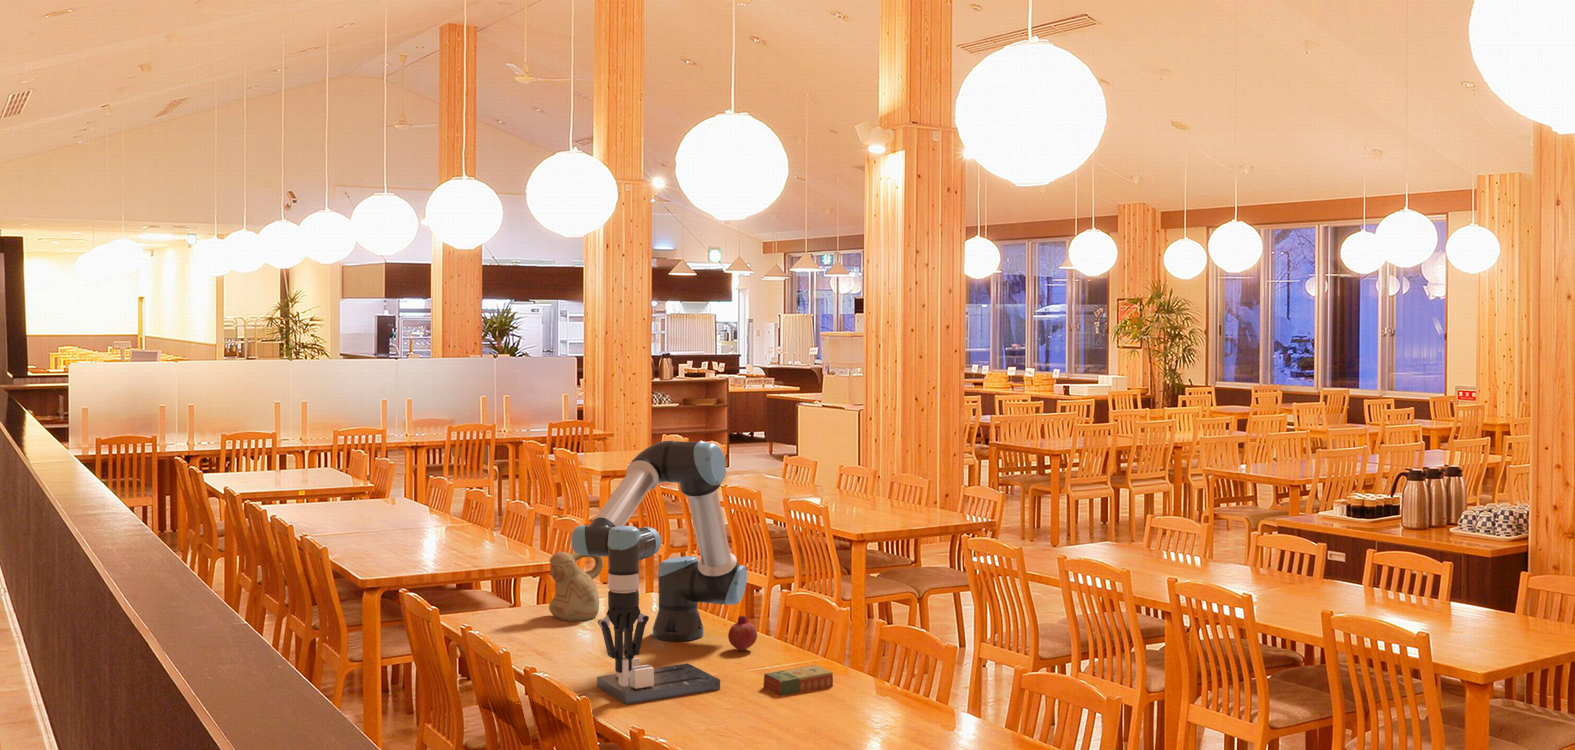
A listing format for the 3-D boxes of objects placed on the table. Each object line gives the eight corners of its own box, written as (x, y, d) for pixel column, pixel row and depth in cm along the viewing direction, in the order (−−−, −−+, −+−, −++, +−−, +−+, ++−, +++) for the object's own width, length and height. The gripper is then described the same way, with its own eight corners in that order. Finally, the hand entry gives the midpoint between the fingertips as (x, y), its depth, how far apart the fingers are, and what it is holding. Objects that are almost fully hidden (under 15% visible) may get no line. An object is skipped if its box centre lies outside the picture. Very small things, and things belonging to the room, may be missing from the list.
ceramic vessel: (536, 617, 402) (535, 538, 401) (588, 608, 415) (588, 532, 414) (565, 627, 389) (565, 545, 388) (618, 617, 403) (618, 538, 402)
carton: (833, 687, 327) (833, 671, 327) (780, 697, 318) (780, 680, 318) (815, 679, 334) (815, 663, 334) (763, 689, 325) (763, 672, 325)
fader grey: (647, 682, 319) (647, 663, 319) (653, 685, 316) (653, 667, 316) (629, 685, 317) (629, 666, 316) (635, 688, 314) (635, 669, 313)
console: (687, 672, 339) (688, 662, 339) (720, 689, 324) (720, 679, 323) (597, 686, 325) (597, 676, 325) (626, 704, 310) (626, 693, 310)
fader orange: (633, 672, 328) (633, 654, 328) (639, 675, 325) (639, 657, 325) (615, 675, 325) (615, 657, 325) (621, 678, 322) (621, 660, 322)
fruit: (734, 655, 357) (734, 619, 357) (724, 648, 364) (724, 613, 364) (761, 652, 360) (761, 617, 360) (750, 645, 368) (750, 611, 367)
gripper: (641, 584, 320) (641, 677, 320) (592, 589, 313) (592, 684, 314) (654, 589, 313) (654, 684, 314) (604, 595, 306) (604, 692, 307)
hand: (623, 684), depth 314 cm, fingers closed
